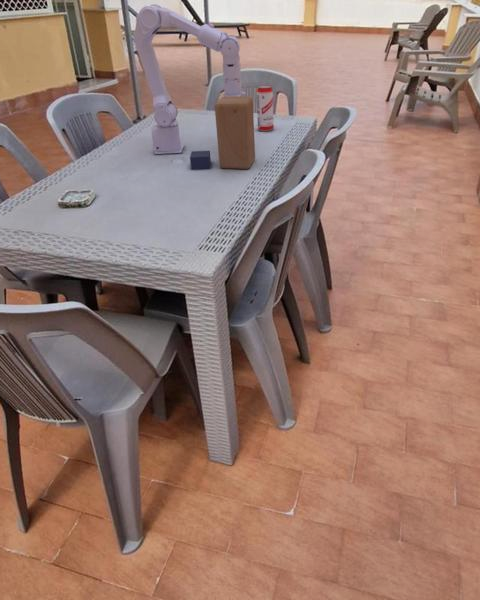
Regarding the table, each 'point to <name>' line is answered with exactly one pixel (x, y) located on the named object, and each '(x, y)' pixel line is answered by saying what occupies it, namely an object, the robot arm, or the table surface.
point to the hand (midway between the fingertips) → (234, 121)
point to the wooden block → (235, 132)
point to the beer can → (265, 108)
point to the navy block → (200, 160)
